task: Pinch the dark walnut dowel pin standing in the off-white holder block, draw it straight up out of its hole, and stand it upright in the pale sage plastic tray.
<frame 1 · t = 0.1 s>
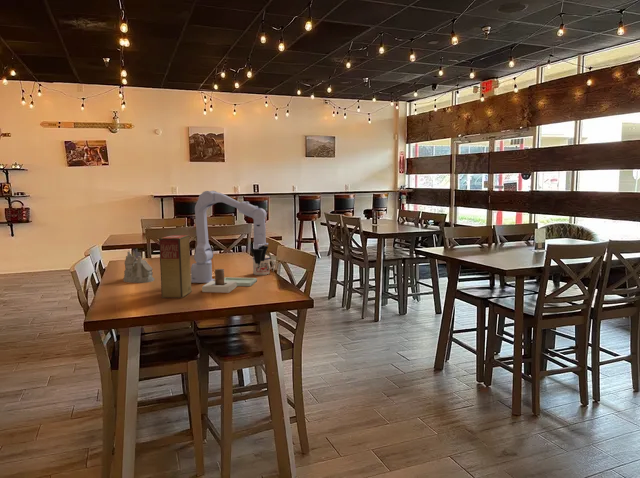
hand: (259, 262, 224), 10 cm above the table, fingers open, 7 cm apart
walnut pin: (219, 279, 211), in the holder block
food packaging: (176, 295, 201), on the table
holder block: (219, 289, 212), on the table
teacup with lid: (264, 274, 250), on the table
sage tray: (237, 283, 225), on the table
grey castle model: (141, 280, 234), on the table
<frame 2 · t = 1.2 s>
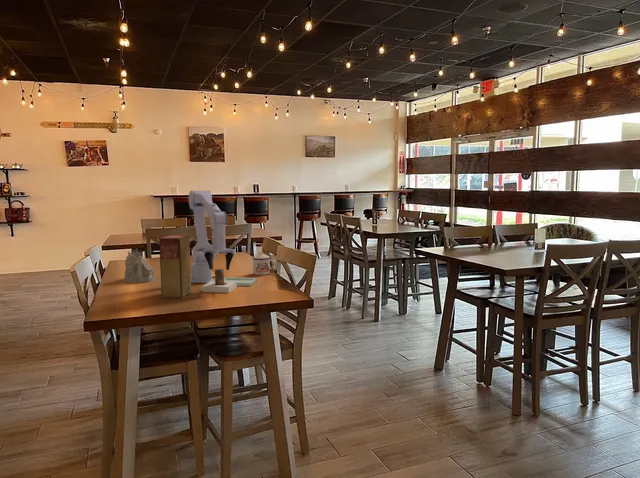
hand: (219, 269, 211), 9 cm above the table, fingers open, 7 cm apart
nothing on the table moved.
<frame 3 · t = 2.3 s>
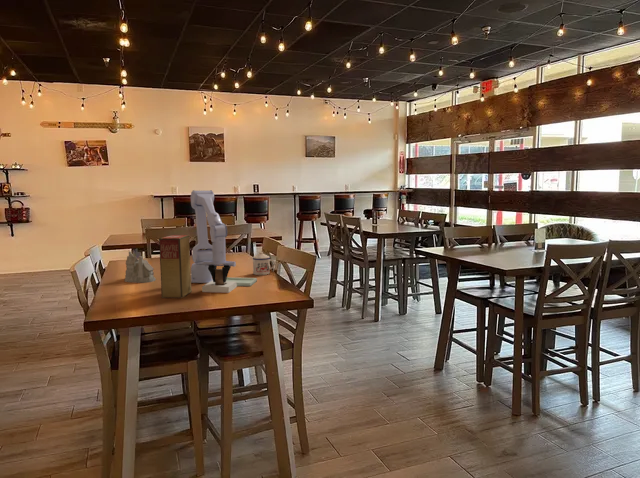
hand: (219, 281, 211), 3 cm above the table, fingers closed on walnut pin, 4 cm apart
walnut pin: (219, 279, 211), in the holder block, touching gripper
everything else where it was.
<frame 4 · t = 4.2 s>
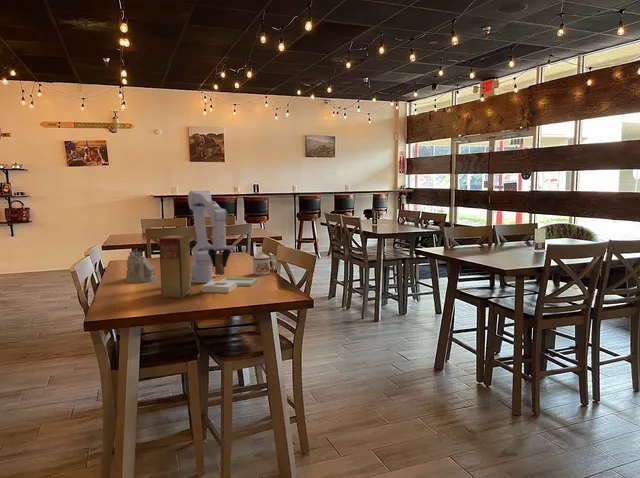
hand: (219, 266, 211), 10 cm above the table, fingers closed on walnut pin, 4 cm apart
walnut pin: (219, 264, 211), point 11 cm above the table, touching gripper
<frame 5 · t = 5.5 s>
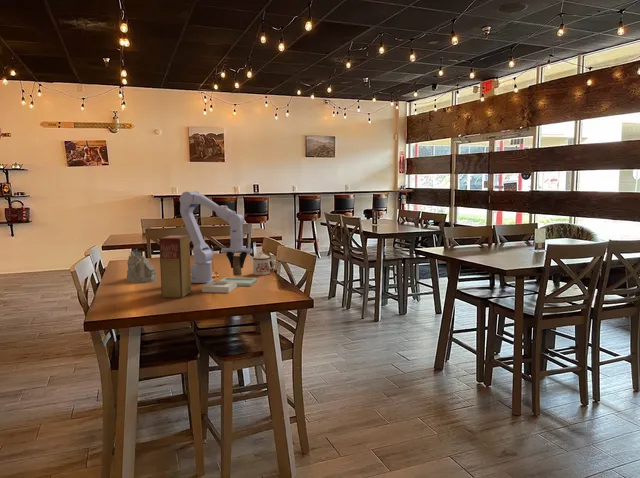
hand: (237, 267, 224), 7 cm above the table, fingers closed on walnut pin, 4 cm apart
walnut pin: (237, 265, 224), point 8 cm above the table, touching gripper
when the fingers open (5 cm above the table, at t = 6.3 s): walnut pin stays where it is, resting on sage tray.
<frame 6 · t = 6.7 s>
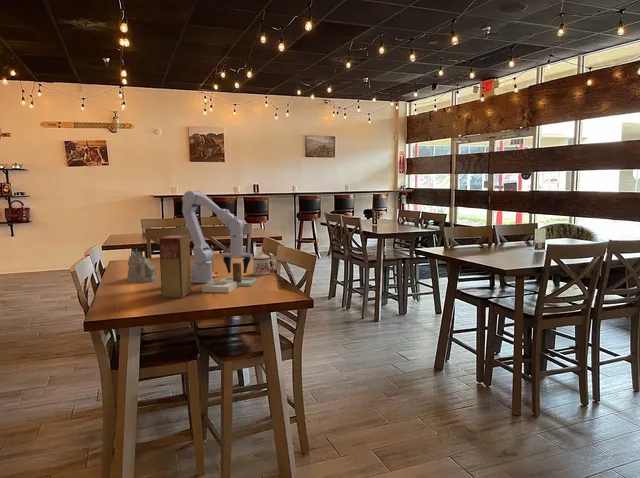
hand: (237, 272, 225), 5 cm above the table, fingers open, 7 cm apart
walnut pin: (237, 272, 224), point 5 cm above the table, touching sage tray
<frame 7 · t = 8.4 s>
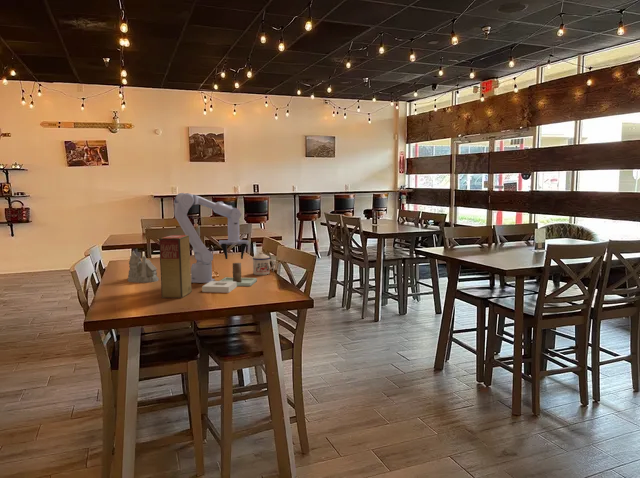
hand: (234, 258, 236), 10 cm above the table, fingers open, 7 cm apart
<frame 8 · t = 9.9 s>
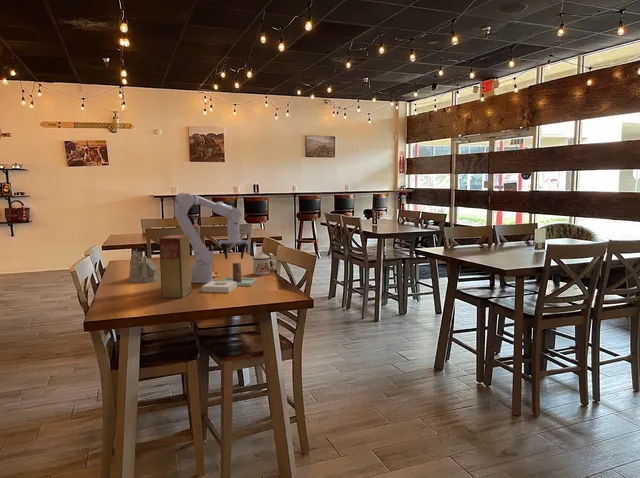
hand: (234, 258, 236), 10 cm above the table, fingers open, 7 cm apart
at the end: walnut pin inside the target area on the sage tray (0.1 cm from its centre), point 5.1 cm above the sage tray's base; walnut pin tilted 0°; the gripper is holding nothing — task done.
